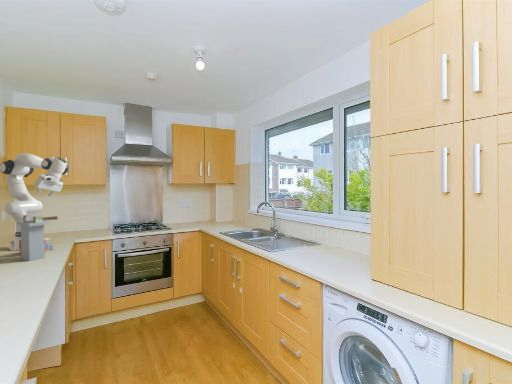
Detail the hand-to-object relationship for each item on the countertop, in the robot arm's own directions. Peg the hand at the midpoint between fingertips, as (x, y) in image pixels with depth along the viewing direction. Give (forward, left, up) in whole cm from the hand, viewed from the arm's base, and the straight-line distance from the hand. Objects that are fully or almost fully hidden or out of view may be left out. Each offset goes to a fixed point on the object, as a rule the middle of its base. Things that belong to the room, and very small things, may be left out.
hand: (44, 195), depth 211 cm
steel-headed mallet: (+9, -6, -18) cm, 21 cm away
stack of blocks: (-9, -2, -45) cm, 46 cm away
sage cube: (+15, -11, -18) cm, 26 cm away
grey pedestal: (+9, -11, -44) cm, 46 cm away
